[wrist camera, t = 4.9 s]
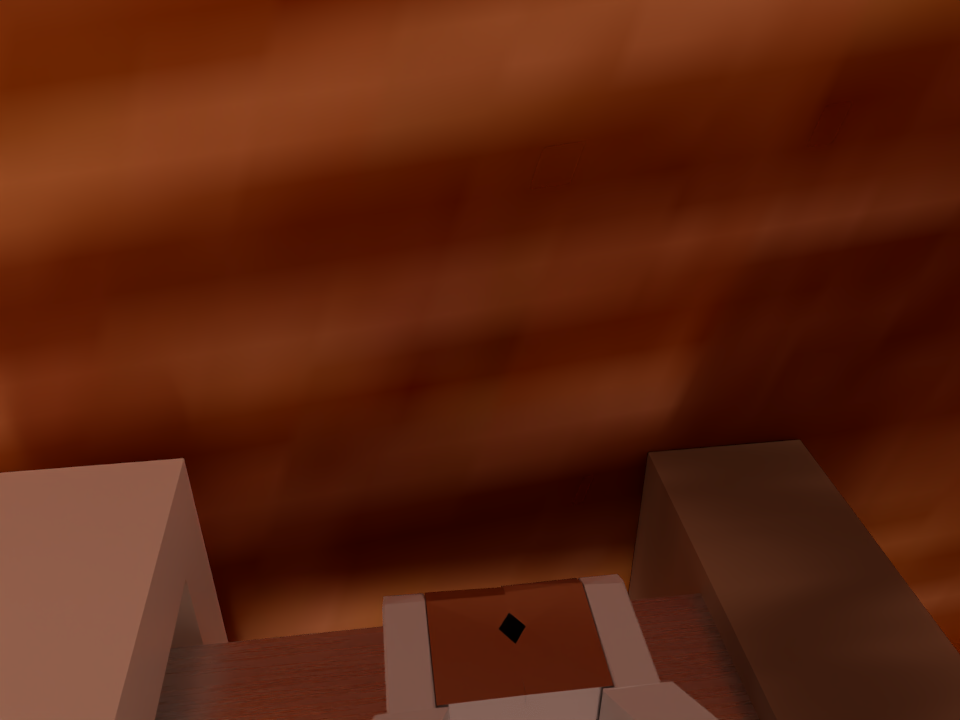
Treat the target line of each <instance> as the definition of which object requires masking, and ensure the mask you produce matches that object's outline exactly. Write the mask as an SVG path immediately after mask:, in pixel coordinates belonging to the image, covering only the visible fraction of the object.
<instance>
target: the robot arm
mask: <svg viewBox="0 0 960 720" xmlns="http://www.w3.org/2000/svg"><path fill="white" fill-rule="evenodd" d="M382 612H383V636H384V660H385V684H386V708H387V713H384V714H377V715H374V716H373V718H372V720H719V719H718V718H716V717H715V716H714V715H713V714H712V713H710V712H709V711H708V710H707V709H706V708H704V707H703V706H702V705H701V704H700V703H698V702H697V701H696V700H695V699H693V698H692V697H691V696H690V695H689V694H687V693H686V692H685V691H684V690H683V689H681V688H680V687H679V686H678V685H677V684H675V683H674V682H673V681H669V682H661V681H660V679H659V676H658V673H657V671H656V668H655V665H654V663H653V660H652V657H651V654H650V652H649V649H648V646H647V644H646V641H645V638H644V636H643V633H642V630H641V627H640V625H639V622H638V619H637V617H636V614H635V611H634V609H633V606H632V603H631V600H630V598H629V595H628V592H627V590H626V587H625V584H624V582H623V580H622V579H621V577H620V576H619V575H618V574H613V575H603V576H594V577H584V578H579V579H577V578H570V579H561V580H552V581H543V582H533V583H524V584H515V585H506V586H501V587H497V588H483V589H469V590H455V591H441V592H427V593H425V595H424V594H423V593H420V594H408V595H395V596H384V597H383V606H382Z"/></svg>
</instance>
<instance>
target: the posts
mask: <svg viewBox="0 0 960 720" xmlns="http://www.w3.org/2000/svg"><path fill="white" fill-rule="evenodd" d="M698 593H701V595H702V597H703V599H704V601H705V603H706V606H707V608H708V610H709V612H710V614H711V616H712V619H713V621H714V623H715V625H716V627H717V629H718V632H719V634H720V636H721V638H722V640H723V642H724V645H725V647H726V649H727V651H728V653H729V655H730V658H731V660H732V662H733V664H734V666H735V668H736V671H737V673H738V675H739V677H740V679H741V681H742V684H743V686H744V688H745V690H746V692H747V694H748V697H749V699H750V701H751V703H752V705H753V707H754V710H755V712H756V714H757V716H758V718H759V720H960V654H959V653H958V652H957V650H956V649H955V648H954V646H953V645H952V644H951V642H950V641H949V640H948V638H947V637H946V636H945V634H944V633H943V632H942V630H941V629H940V628H939V626H938V625H937V623H936V622H935V621H934V619H933V618H932V617H931V615H930V614H929V613H928V611H927V610H926V609H925V607H924V606H923V605H922V603H921V602H920V601H919V599H918V598H917V597H916V595H915V594H914V592H913V591H912V590H911V588H910V587H909V586H908V584H907V583H906V582H905V580H904V579H903V578H902V576H901V575H900V574H899V572H898V571H897V570H896V568H895V567H894V566H893V564H892V563H891V561H890V560H889V559H888V557H887V556H886V555H885V553H884V552H883V551H882V549H881V548H880V547H879V545H878V544H877V543H876V541H875V540H874V539H873V537H872V536H871V535H870V533H869V532H868V530H867V529H866V528H865V526H864V525H863V524H862V522H861V521H860V520H859V518H858V517H857V516H856V514H855V513H854V512H853V510H852V509H851V508H850V506H849V505H848V504H847V502H846V501H845V500H844V498H843V497H842V495H841V494H840V493H839V491H838V490H837V489H836V487H835V486H834V485H833V483H832V482H831V481H830V479H829V478H828V477H827V475H826V474H825V473H824V471H823V470H822V469H821V467H820V466H819V464H818V463H817V462H816V460H815V459H814V458H813V456H812V455H811V454H810V452H809V451H808V450H807V448H806V447H805V446H804V444H803V443H802V442H801V440H790V441H778V442H766V443H754V444H742V445H730V446H718V447H706V448H694V449H682V450H670V451H658V452H648V457H647V464H646V471H645V479H644V486H643V493H642V500H641V508H640V515H639V522H638V529H637V536H636V544H635V551H634V558H633V565H632V573H631V580H630V587H629V594H628V595H629V598H630V600H641V599H650V598H660V597H669V596H679V595H689V594H698Z"/></svg>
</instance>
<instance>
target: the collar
mask: <svg viewBox="0 0 960 720" xmlns="http://www.w3.org/2000/svg"><path fill="white" fill-rule="evenodd" d="M227 642H228V639H227V635H226V631H225V627H224V623H223V619H222V615H221V610H220V606H219V602H218V598H217V594H216V590H215V585H214V581H213V577H212V573H211V569H210V565H209V560H208V556H207V552H206V548H205V544H204V540H203V535H202V531H201V527H200V523H199V519H198V515H197V510H196V506H195V502H194V498H193V494H192V490H191V485H190V481H189V477H188V473H187V469H186V465H185V461H184V458H180V459H167V460H155V461H142V462H130V463H117V464H104V465H92V466H79V467H67V468H54V469H41V470H29V471H16V472H4V473H0V720H155V716H156V712H157V707H158V703H159V698H160V694H161V689H162V685H163V680H164V675H165V671H166V666H167V662H168V657H169V653H170V648H178V647H188V646H198V645H207V644H217V643H227Z"/></svg>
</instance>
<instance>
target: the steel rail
mask: <svg viewBox="0 0 960 720" xmlns="http://www.w3.org/2000/svg"><path fill="white" fill-rule="evenodd" d="M631 603H632V606H633V609H634V611H635V614H636V617H637V619H638V622H639V625H640V627H641V630H642V633H643V636H644V638H645V641H646V644H647V646H648V649H649V652H650V654H651V657H652V660H653V663H654V665H655V668H656V671H657V673H658V676H659V679H660V681H661V682H669V681H673V682H674V683H675V684H677V685H678V686H679V687H680V688H681V689H683V690H684V691H685V692H686V693H687V694H689V695H690V696H691V697H692V698H693V699H695V700H696V701H697V702H698V703H700V704H701V705H702V706H703V707H704V708H706V709H707V710H708V711H709V712H710V713H712V714H713V715H714V716H715V717H716V718H718V719H719V720H759V718H758V716H757V714H756V712H755V710H754V707H753V705H752V703H751V701H750V699H749V697H748V694H747V692H746V690H745V688H744V686H743V684H742V681H741V679H740V677H739V675H738V673H737V671H736V668H735V666H734V664H733V662H732V660H731V658H730V655H729V653H728V651H727V649H726V647H725V645H724V642H723V640H722V638H721V636H720V634H719V632H718V629H717V627H716V625H715V623H714V621H713V619H712V616H711V614H710V612H709V610H708V608H707V606H706V603H705V601H704V599H703V597H702V595H701V593H698V594H689V595H679V596H669V597H660V598H650V599H641V600H631ZM384 713H387V708H386V684H385V660H384V636H383V626H381V627H371V628H361V629H352V630H342V631H332V632H323V633H313V634H304V635H294V636H284V637H275V638H265V639H255V640H246V641H236V642H227V643H217V644H207V645H198V646H188V647H178V648H170V653H169V657H168V662H167V666H166V671H165V675H164V680H163V685H162V689H161V694H160V698H159V703H158V707H157V712H156V716H155V720H372V718H373V716H374V715H377V714H384Z"/></svg>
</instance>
